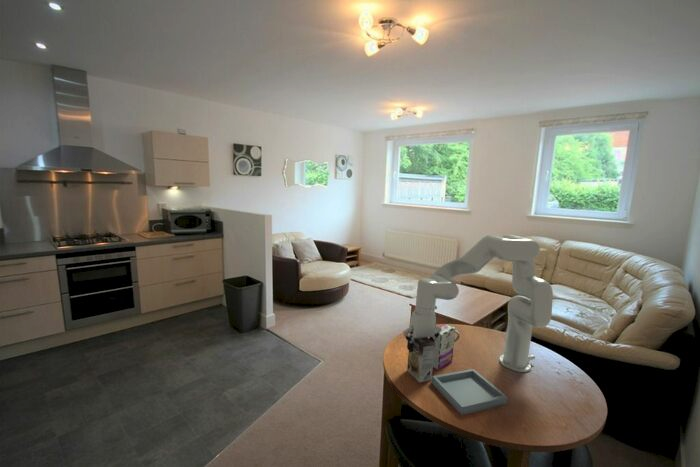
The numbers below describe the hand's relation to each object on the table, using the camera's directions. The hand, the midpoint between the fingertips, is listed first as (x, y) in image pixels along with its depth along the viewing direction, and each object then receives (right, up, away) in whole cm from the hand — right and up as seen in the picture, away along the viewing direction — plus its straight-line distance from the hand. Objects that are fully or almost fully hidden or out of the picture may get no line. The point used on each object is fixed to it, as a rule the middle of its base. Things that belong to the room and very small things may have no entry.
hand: (420, 349), depth 127 cm
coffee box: (0, -12, +2) cm, 12 cm away
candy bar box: (+11, -11, +11) cm, 19 cm away
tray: (+16, -14, -8) cm, 23 cm away
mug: (+17, -9, +25) cm, 31 cm away
